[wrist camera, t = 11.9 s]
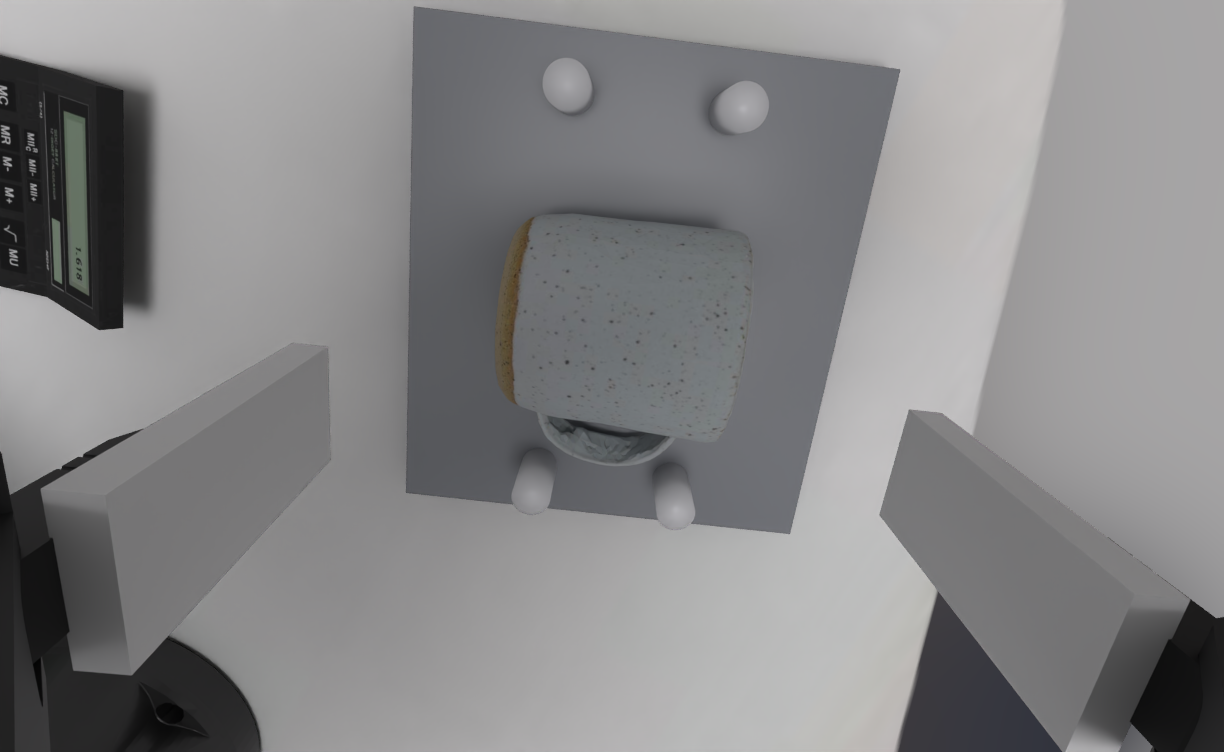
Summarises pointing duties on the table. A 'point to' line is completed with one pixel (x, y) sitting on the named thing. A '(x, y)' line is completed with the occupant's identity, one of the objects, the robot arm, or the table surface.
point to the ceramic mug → (624, 331)
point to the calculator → (62, 190)
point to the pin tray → (640, 191)
